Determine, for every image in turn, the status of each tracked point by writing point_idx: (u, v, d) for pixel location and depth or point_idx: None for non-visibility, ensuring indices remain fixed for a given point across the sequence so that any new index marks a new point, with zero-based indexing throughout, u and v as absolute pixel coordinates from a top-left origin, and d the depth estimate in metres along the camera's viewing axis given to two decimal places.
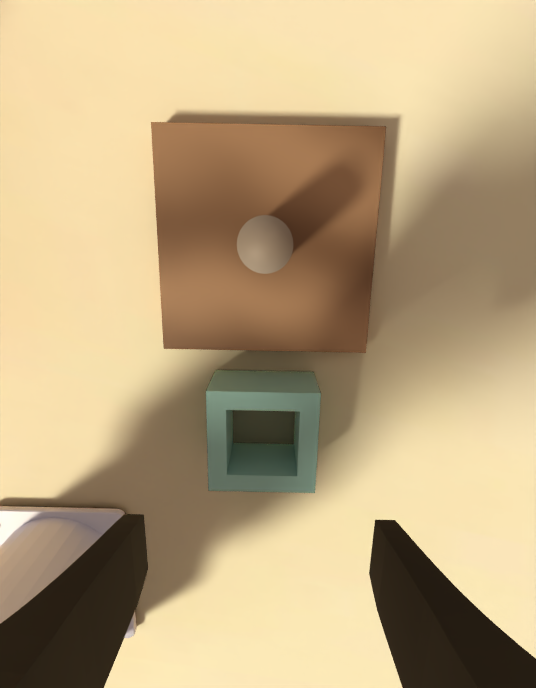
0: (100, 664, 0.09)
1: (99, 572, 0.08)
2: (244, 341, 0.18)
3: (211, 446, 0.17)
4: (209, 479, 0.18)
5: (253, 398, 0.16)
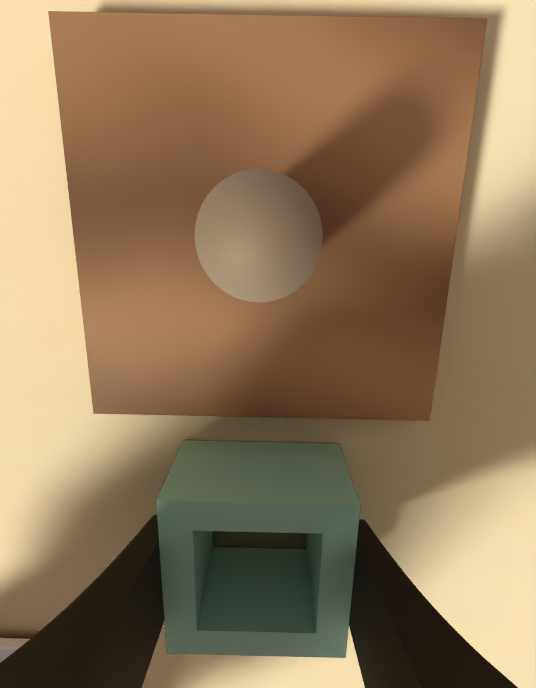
0: (139, 665, 0.09)
1: (138, 573, 0.08)
2: (227, 402, 0.11)
3: (169, 587, 0.10)
4: (167, 637, 0.10)
5: (240, 512, 0.09)
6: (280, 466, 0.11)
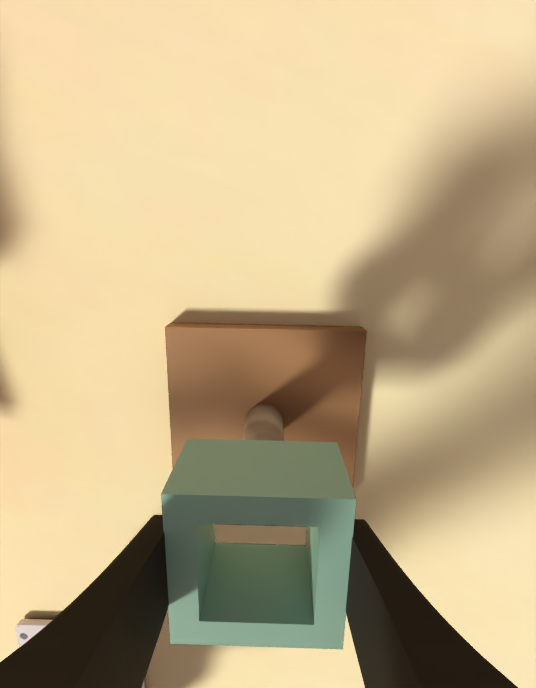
0: (138, 665, 0.09)
1: (138, 573, 0.08)
2: None
3: (173, 579, 0.10)
4: (171, 627, 0.11)
5: (241, 505, 0.10)
6: (280, 463, 0.11)
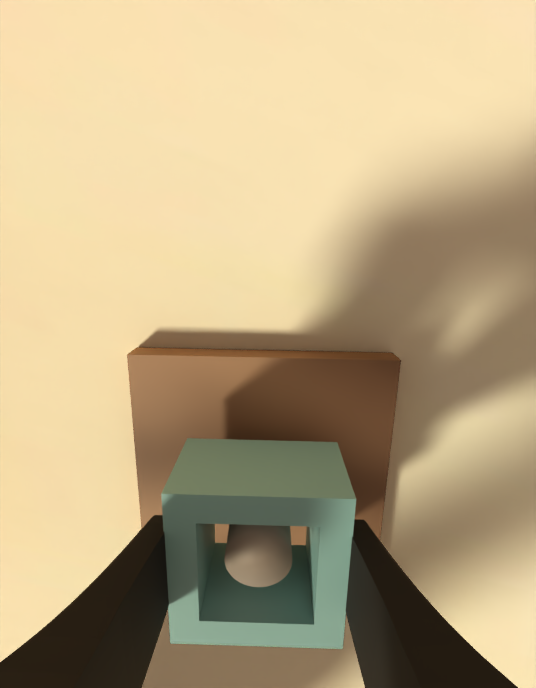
0: (138, 665, 0.09)
1: (138, 573, 0.08)
2: None
3: (173, 579, 0.10)
4: (171, 627, 0.11)
5: (241, 505, 0.10)
6: (280, 463, 0.11)
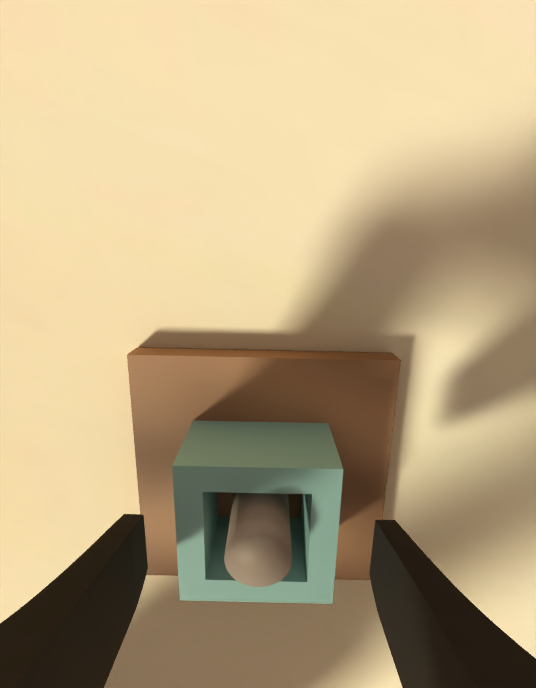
0: (100, 664, 0.09)
1: (99, 572, 0.08)
2: None
3: (182, 542, 0.12)
4: (180, 586, 0.12)
5: (243, 475, 0.11)
6: (276, 440, 0.13)
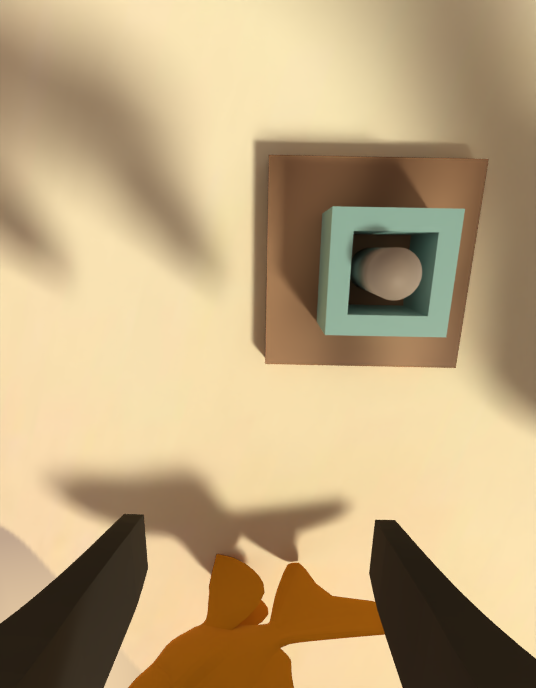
0: (100, 664, 0.09)
1: (99, 572, 0.08)
2: (458, 291, 0.18)
3: (390, 331, 0.16)
4: (431, 335, 0.16)
5: (335, 284, 0.15)
6: (324, 257, 0.16)
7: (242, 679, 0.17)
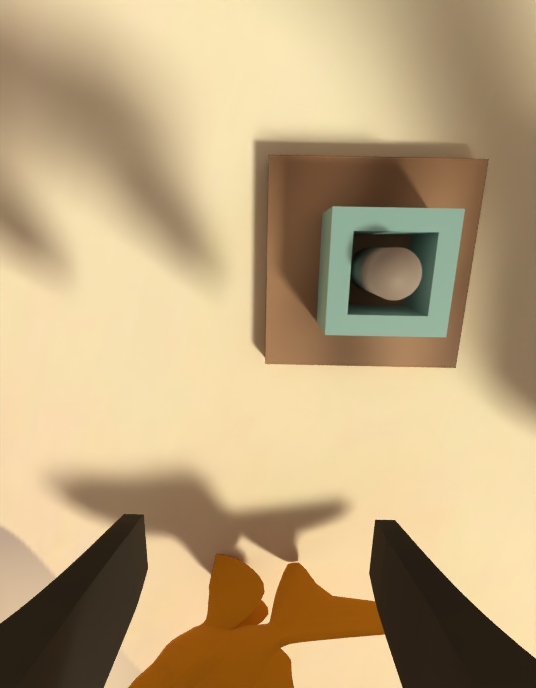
0: (100, 664, 0.09)
1: (99, 572, 0.08)
2: (458, 291, 0.18)
3: (390, 331, 0.16)
4: (431, 335, 0.16)
5: (335, 284, 0.15)
6: (324, 257, 0.16)
7: (242, 679, 0.17)
